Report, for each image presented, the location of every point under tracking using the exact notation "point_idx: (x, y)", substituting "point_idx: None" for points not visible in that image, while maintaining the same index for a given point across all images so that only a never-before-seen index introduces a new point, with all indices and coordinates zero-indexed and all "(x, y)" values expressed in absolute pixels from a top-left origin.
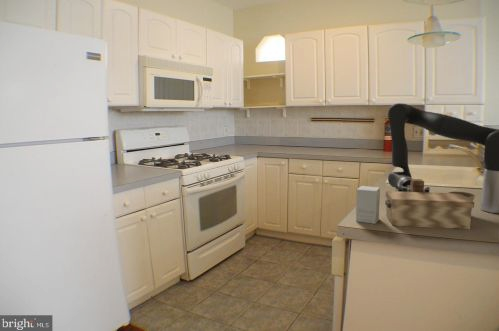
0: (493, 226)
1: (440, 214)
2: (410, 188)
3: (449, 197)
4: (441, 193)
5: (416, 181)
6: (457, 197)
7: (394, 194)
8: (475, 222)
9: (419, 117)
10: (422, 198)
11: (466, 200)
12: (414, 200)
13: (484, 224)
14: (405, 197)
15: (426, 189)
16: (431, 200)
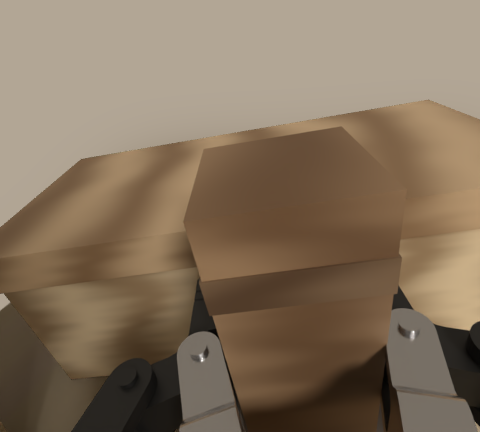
0: (4, 309)
1: None
2: (383, 320)
3: (133, 176)
4: (110, 229)
5: (300, 138)
6: (88, 186)
7: (459, 135)
8: (24, 345)
9: None
10: (285, 135)
11: (92, 165)
12: (324, 119)
13: (13, 325)
14: (372, 123)
15: (126, 407)
16: (250, 130)
